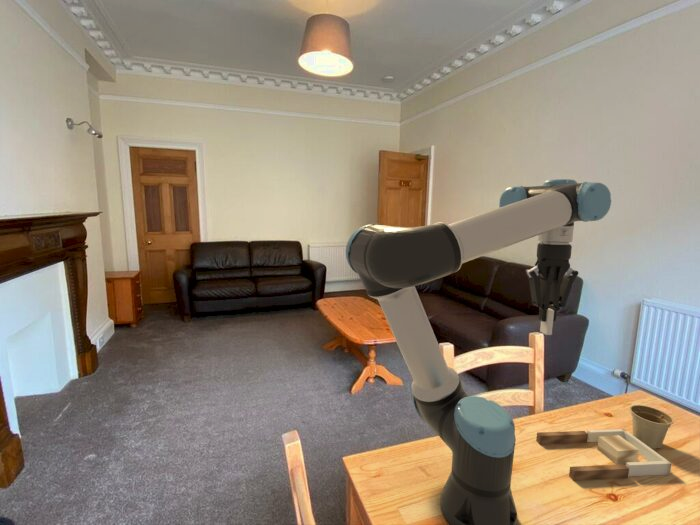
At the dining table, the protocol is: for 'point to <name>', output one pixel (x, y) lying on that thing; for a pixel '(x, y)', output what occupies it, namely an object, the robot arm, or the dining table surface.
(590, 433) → the corral
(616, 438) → the beige square block
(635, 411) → the flower pot
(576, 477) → the slot rails
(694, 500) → the dining table surface
